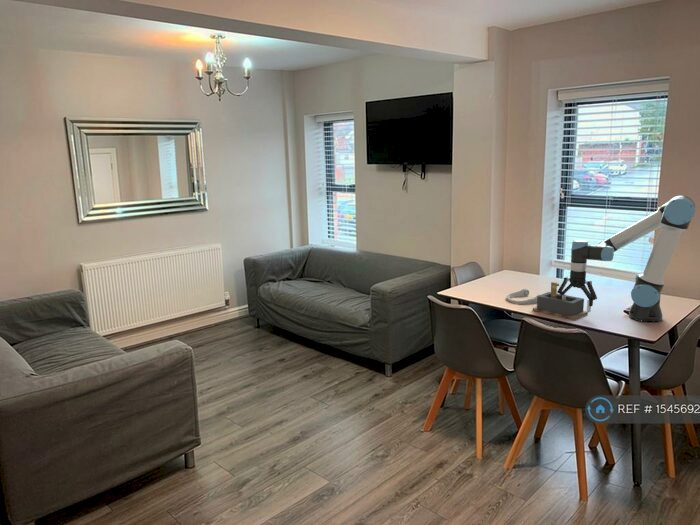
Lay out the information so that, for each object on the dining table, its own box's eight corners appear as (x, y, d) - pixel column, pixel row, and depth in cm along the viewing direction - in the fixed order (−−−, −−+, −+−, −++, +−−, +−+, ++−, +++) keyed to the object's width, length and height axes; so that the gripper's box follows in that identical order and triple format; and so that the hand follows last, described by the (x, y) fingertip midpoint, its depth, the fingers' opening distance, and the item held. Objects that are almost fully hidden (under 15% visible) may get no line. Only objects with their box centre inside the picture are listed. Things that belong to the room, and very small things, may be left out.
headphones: (517, 306, 296) (518, 297, 295) (501, 298, 311) (501, 290, 310) (544, 302, 301) (545, 294, 300) (527, 295, 316) (527, 287, 315)
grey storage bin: (583, 311, 277) (584, 298, 276) (572, 316, 270) (572, 303, 268) (548, 303, 292) (548, 291, 291) (536, 308, 285) (537, 296, 283)
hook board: (587, 314, 276) (589, 285, 273) (574, 320, 268) (576, 290, 264) (545, 305, 294) (547, 277, 291) (532, 310, 286) (533, 282, 282)
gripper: (605, 272, 262) (603, 312, 267) (559, 265, 281) (557, 303, 285) (599, 275, 258) (596, 316, 262) (551, 267, 276) (549, 306, 281)
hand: (575, 309), depth 274 cm, fingers open, 13 cm apart
